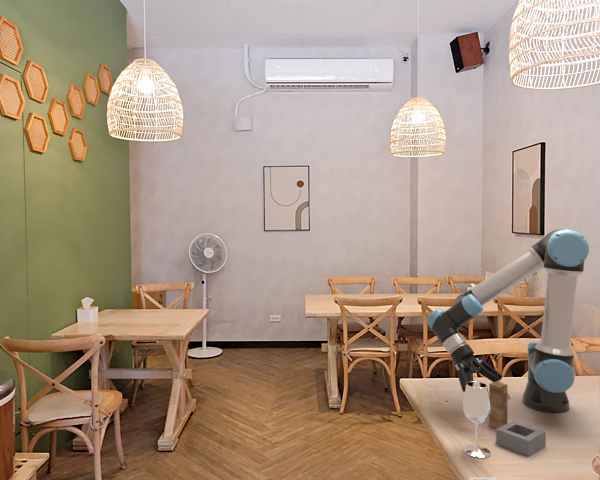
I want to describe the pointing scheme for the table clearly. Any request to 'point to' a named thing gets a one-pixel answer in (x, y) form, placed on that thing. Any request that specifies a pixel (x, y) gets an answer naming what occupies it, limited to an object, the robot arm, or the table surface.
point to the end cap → (521, 438)
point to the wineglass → (476, 414)
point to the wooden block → (498, 404)
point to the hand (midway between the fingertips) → (498, 404)
